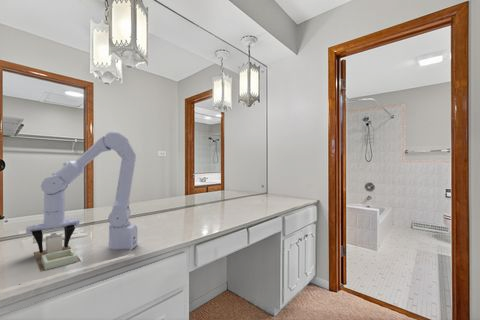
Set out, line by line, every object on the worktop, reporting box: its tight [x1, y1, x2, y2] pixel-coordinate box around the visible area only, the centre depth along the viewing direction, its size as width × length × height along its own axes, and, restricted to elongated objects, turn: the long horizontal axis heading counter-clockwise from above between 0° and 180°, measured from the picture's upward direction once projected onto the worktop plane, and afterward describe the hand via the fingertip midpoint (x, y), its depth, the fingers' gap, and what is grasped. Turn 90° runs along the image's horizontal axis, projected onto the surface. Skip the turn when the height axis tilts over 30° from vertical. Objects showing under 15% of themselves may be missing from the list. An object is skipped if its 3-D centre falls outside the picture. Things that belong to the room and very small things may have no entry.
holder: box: [41, 248, 79, 271], centre depth 73 cm, size 8×8×2 cm
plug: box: [45, 232, 63, 254], centre depth 81 cm, size 4×4×6 cm
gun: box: [32, 230, 89, 244], centre depth 96 cm, size 18×3×10 cm
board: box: [33, 244, 82, 273], centre depth 77 cm, size 20×10×1 cm, turn 47°
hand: (53, 249), depth 81 cm, fingers open, 6 cm apart
